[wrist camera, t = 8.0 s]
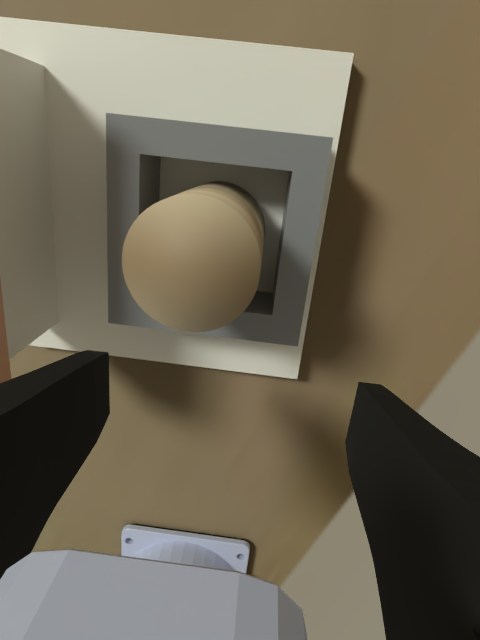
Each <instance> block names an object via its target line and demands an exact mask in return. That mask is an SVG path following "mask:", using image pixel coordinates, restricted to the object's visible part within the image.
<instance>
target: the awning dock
mask: <svg viewBox="0 0 480 640" xmlns="http://www.w3.org/2000/svg"><path fill="white" fill-rule="evenodd" d="M353 56H354V53H347V52H337V51H327V50H318V49H308V48H298V47H288V46H279V45H269V44H259V43H249V42H240V41H230V40H220V39H211V38H201V37H191V36H181V35H172V34H162V33H152V32H143V31H133V30H123V29H113V28H104V27H94V26H84V25H74V24H65V23H55V22H45V21H36V20H26V19H16V18H6V17H0V383H2V382H5V381H8V380H10V379H11V372H10V362H9V360H10V359H11V358H12V357H14V356H15V355H16V354H17V353H19V352H20V351H21V350H23V349H24V348H25V347H27V346H28V345H32V346H40V347H48V348H56V349H64V350H72V351H79V352H82V351H86V350H93V351H101V352H109V355H111V356H119V357H127V358H134V359H142V360H150V361H158V362H166V363H174V364H181V365H189V366H197V367H205V368H213V369H221V370H229V371H236V372H244V373H252V374H260V375H268V376H276V377H283V378H291V379H297V377H298V372H299V366H300V360H301V354H302V349H303V343H304V337H305V331H306V326H307V320H308V314H309V308H310V303H311V297H312V291H313V285H314V280H315V274H316V268H317V263H318V257H319V251H320V245H321V240H322V234H323V228H324V222H325V217H326V211H327V205H328V199H329V194H330V188H331V182H332V176H333V171H334V165H335V159H336V153H337V148H338V142H339V136H340V130H341V125H342V119H343V113H344V107H345V102H346V96H347V90H348V84H349V79H350V73H351V67H352V61H353ZM213 181H223V182H229V183H233V184H235V185H238V186H240V187H242V188H243V189H245V190H246V191H247V192H249V193H250V194H251V195H252V196H253V197H254V199H255V200H256V201H257V203H258V204H259V206H260V208H261V210H262V213H263V216H264V221H265V236H264V245H263V254H262V262H261V271H260V279H259V284H258V287H257V290H256V293H255V295H254V297H253V299H252V301H251V303H250V304H249V306H248V307H247V308H246V309H245V311H244V312H243V313H242V314H241V315H240V316H239V317H237V318H236V319H235V320H233V321H232V322H230V323H229V324H227V325H225V326H223V327H220V328H218V329H215V330H211V331H206V332H185V331H180V330H176V329H172V328H170V327H167V326H165V325H163V324H161V323H159V322H157V321H156V320H154V319H153V318H151V317H150V316H149V315H148V314H147V313H146V312H144V311H143V309H142V308H141V307H140V306H139V305H138V304H137V302H136V301H135V300H134V298H133V297H132V295H131V293H130V291H129V289H128V287H127V284H126V282H125V278H124V274H123V268H122V252H123V245H124V242H125V238H126V236H127V233H128V231H129V229H130V227H131V226H132V224H133V222H134V221H135V220H136V219H137V218H138V216H139V215H140V214H141V213H142V212H144V211H145V210H146V209H147V208H149V207H150V206H152V205H153V204H155V203H157V202H159V201H161V200H163V199H166V198H168V197H171V196H174V195H176V194H179V193H181V192H184V191H186V190H189V189H191V188H194V187H197V186H199V185H202V184H205V183H208V182H213Z"/></svg>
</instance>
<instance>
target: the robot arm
mask: <svg viewBox="0 0 480 640" xmlns="http://www.w3.org/2000/svg"><path fill="white" fill-rule="evenodd" d="M109 413H110V405H109V352H101V351H93V350H86V351H82V352H79V353H76V354H74V355H71V356H68V357H66V358H63V359H61V360H59V361H56V362H54V363H51V364H49V365H46V366H44V367H42V368H39V369H37V370H34V371H32V372H29V373H27V374H24V375H21V376H19V377H16V378H13V379H10V380H8V381H5V382H2V383H0V640H307V635H306V629H305V623H304V617H303V612H302V609H301V608H300V607H299V606H298V605H297V604H296V603H295V602H294V601H293V600H292V599H291V598H289V596H288V595H287V594H285V593H284V591H282V590H281V589H280V588H279V587H278V586H277V585H276V584H274V583H272V582H269V581H266V580H263V579H260V578H257V577H254V576H251V575H248V574H246V572H247V565H248V559H249V552H250V545H249V543H248V542H246V541H244V540H238V539H231V538H224V537H217V536H210V535H203V534H195V533H188V532H181V531H174V530H167V529H160V528H153V527H145V526H138V525H126V526H125V527H124V528H123V531H122V556H121V555H113V554H106V553H99V552H91V551H84V550H76V549H66V550H51V551H38V552H32V553H31V551H32V549H33V547H34V545H35V543H36V541H37V539H38V537H39V535H40V533H41V531H42V530H43V528H44V526H45V524H46V522H47V520H48V518H49V516H50V515H51V513H52V511H53V509H54V508H55V506H56V504H57V503H58V501H59V500H60V498H61V497H62V495H63V494H64V492H65V491H66V489H67V487H68V486H69V484H70V483H71V481H72V480H73V478H74V477H75V475H76V474H77V472H78V470H79V469H80V467H81V466H82V464H83V463H84V461H85V460H86V458H87V456H88V455H89V453H90V452H91V450H92V449H93V447H94V445H95V444H96V442H97V440H98V438H99V436H100V434H101V432H102V429H103V427H104V425H105V423H106V420H107V418H108V416H109ZM345 443H346V451H347V459H348V466H349V473H350V477H351V481H352V485H353V488H354V492H355V495H356V499H357V502H358V506H359V510H360V513H361V517H362V520H363V523H364V527H365V531H366V534H367V538H368V541H369V544H370V549H371V553H372V557H373V561H374V567H375V572H376V578H377V584H378V590H379V596H380V601H381V608H382V614H383V621H384V627H385V634H386V640H480V457H479V456H477V455H476V454H474V453H472V452H470V451H469V450H468V449H466V448H465V447H463V446H461V445H460V444H459V443H457V442H456V441H454V440H453V439H451V438H450V437H449V436H447V435H446V434H444V433H443V432H442V431H440V430H439V429H437V428H436V427H435V426H433V425H432V424H431V423H430V422H428V421H427V420H426V419H424V418H423V417H422V416H421V415H419V414H418V413H417V412H416V411H414V410H413V409H412V408H411V407H409V406H408V405H407V404H406V403H404V402H403V401H402V400H401V399H399V398H398V397H397V396H396V395H394V394H393V393H392V392H391V391H389V390H388V389H387V388H385V387H384V386H382V385H380V384H371V383H363V382H359V383H358V388H357V392H356V397H355V401H354V406H353V410H352V415H351V419H350V424H349V428H348V433H347V437H346V442H345ZM130 538H131V539H130Z"/></svg>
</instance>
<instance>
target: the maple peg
mask: <svg viewBox="0 0 480 640" xmlns="http://www.w3.org/2000/svg"><path fill="white" fill-rule="evenodd" d="M264 236H265V221H264V216H263V213H262V210H261V208H260V206H259V204H258V203H257V201H256V200H255V199H254V197H253V196H252V195H251V194H250V193H249V192H247V191H246V190H245V189H243V188H242V187H240V186H238V185H235V184H233V183H229V182H223V181H213V182H208V183H205V184H202V185H199V186H197V187H194V188H191V189H189V190H186V191H184V192H181V193H179V194H176V195H174V196H171V197H168V198H166V199H163V200H161V201H159V202H157V203H155V204H153V205H152V206H150V207H149V208H147V209H146V210H145V211H144V212H142V213H141V214H140V215H139V216H138V218H137V219H136V220H135V221H134V222H133V224H132V226H131V227H130V229H129V231H128V233H127V236H126V238H125V242H124V245H123V252H122V268H123V274H124V278H125V282H126V284H127V287H128V289H129V291H130V293H131V295H132V297H133V298H134V300H135V301H136V302H137V304H138V305H139V306H140V307H141V308H142V309H143V311H144V312H146V313H147V314H148V315H149V316H150V317H151V318H153V319H154V320H156V321H157V322H159V323H161V324H163V325H165V326H167V327H170V328H172V329H176V330H180V331H185V332H206V331H211V330H215V329H218V328H220V327H223V326H225V325H227V324H229V323H230V322H232V321H233V320H235V319H236V318H237V317H239V316H240V315H241V314H242V313H243V312H244V311H245V309H246V308H247V307H248V306H249V304H250V303H251V301H252V299H253V297H254V295H255V293H256V290H257V287H258V284H259V279H260V271H261V262H262V254H263V245H264Z"/></svg>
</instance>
